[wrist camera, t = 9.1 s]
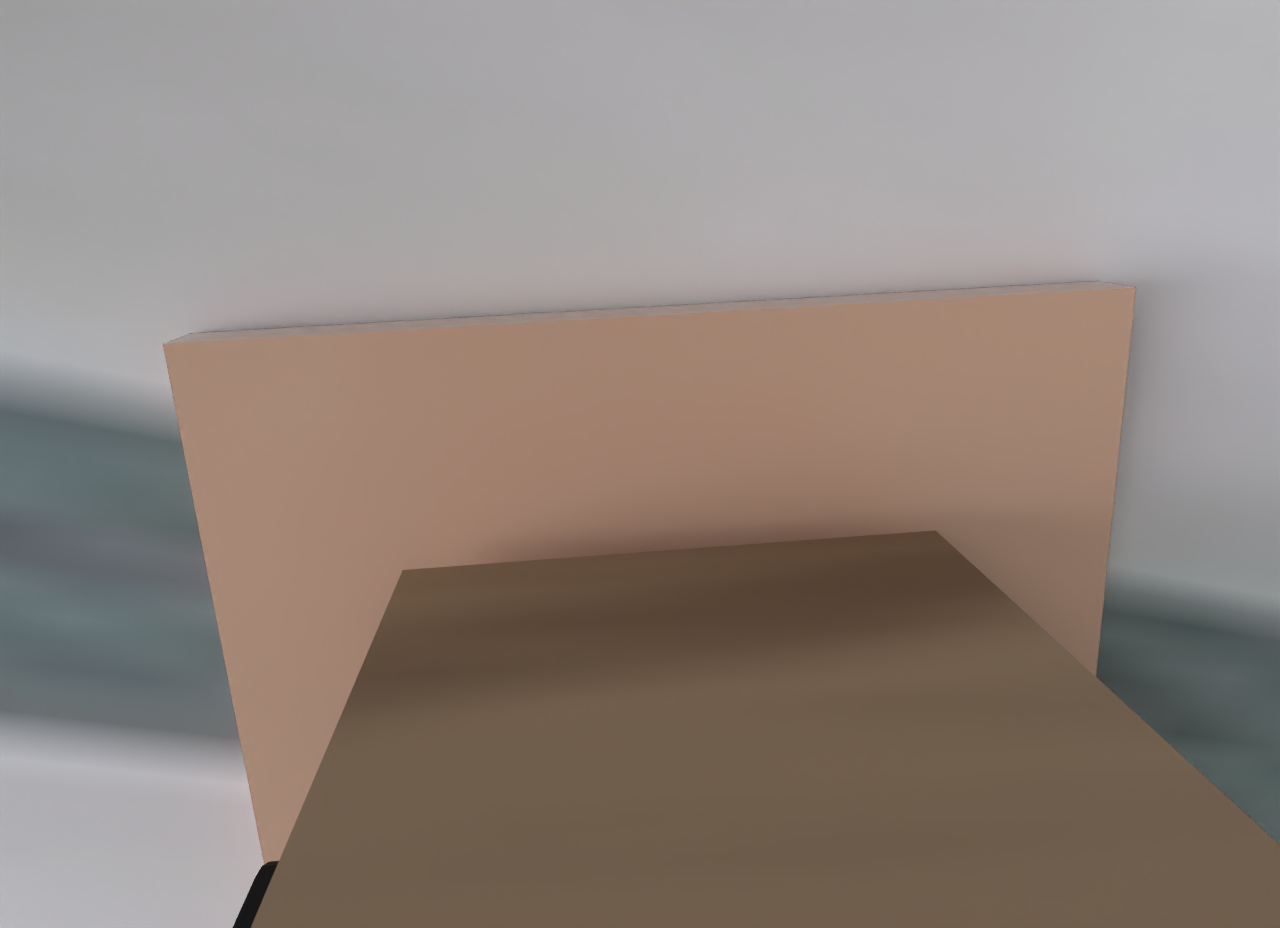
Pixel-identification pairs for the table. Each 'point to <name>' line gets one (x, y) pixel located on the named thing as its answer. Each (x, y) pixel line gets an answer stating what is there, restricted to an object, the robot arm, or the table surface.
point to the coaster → (632, 462)
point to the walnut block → (751, 758)
